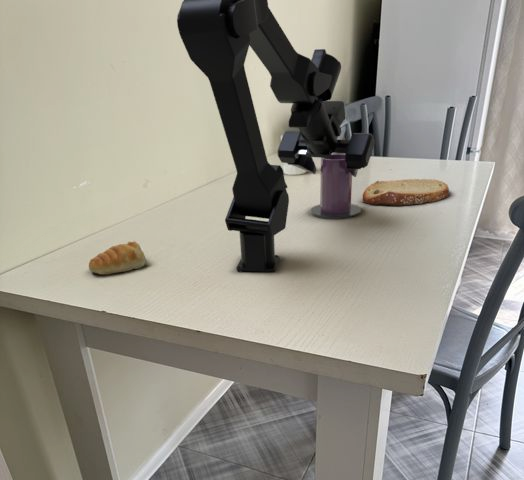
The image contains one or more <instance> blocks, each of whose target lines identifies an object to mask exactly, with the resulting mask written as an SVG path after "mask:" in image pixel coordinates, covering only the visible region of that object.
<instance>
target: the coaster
mask: <svg viewBox="0 0 524 480" xmlns="http://www.w3.org/2000/svg"><path fill="white" fill-rule="evenodd" d="M361 213H362V208H361V207H360V206H358V205H356V204H352V203H351V210H350V211H349V212H346V213H340V214H330V213H324V212H322V211H321V210H320V204H317V205H315V206H312V207H311V208H310V214H311V215H312V216H313V217H316V218H320V219H325V220H344V219H350V218H351V219H352V218H354V217H357V216H359V215H360V214H361Z"/></svg>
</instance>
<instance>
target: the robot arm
mask: <svg viewBox="0 0 524 480" xmlns="http://www.w3.org/2000/svg"><path fill="white" fill-rule="evenodd" d="M176 24H177V29H178V34H179V37H180V39H181V41H182V43H183V45H184V48H185V50H186V52H187V54H188V57H189V59H190V60H191V61H192V63H193V64H194V65H195V66H196V67H197V68H198V69H199V70H200V71H201V72H202V73H203V75H204V76H205V77H207V79H208V81H209V84H210V87H211V91H212V95H213V97H214V101H215V104H216V109H217V110H218V114H219V117H220V121H221V124H222V127H223V130H224V134H225V137H226V140H227V143H228V147H229V150H230V154H231V157H232V161H233V164H234V166H235V171H236V175H235V179H234V181H233V185H232V187H231V189H232V195H233V198H232V200H231V203H230V205H229V208H228V211H227V213H226V216H225V219H224V222H225V225H226V228H227V231H229V232H231V231H233V232H234V231H235V232H239V243H240V244H239V246H240V260H239V262H238V264H237V266H236V271H237V272H265V273H266V272H276V269H277V267H278V264H279V260H280V255H278V254H276V251H275V248H276V247H275V246H276V245H275V235H277V234H279V233H281V232H282V231H284V230H285V229H286V226H287V218H288V212H289V206H290V205H289V204H290V196H289V193H288V191H287V189H288V185H287V182H286V179H285V174H284V172H283V167H282V166H281V165H278V164H270V163H269V161H268V157H267V153H266V149H265V145H264V141H263V138H262V134H261V130H260V125H259V122H258V121H259V120H258V117H257V113H256V109H255V105H254V101H253V98H252V93H251V89H250V85H249V81H248V77H247V73H246V69H245V62H246V59H247V55H248V51H249V48H251V50H252V51H253V52H254V54H255V55H256V57H257V58H258V59H259V61H260V62H261V64H262V65H263V66H264V67H265V69H266V70H267V72H268V73H269V75H270V77H271V78H270V83H269V87H270V89H271V91H272V93H273V95H274V97H275V99H276V100H277V102H278V103H279V104H291V108H290V116H289V119H288V128H289V129H290V128H293V129H294V128H296V129H298V130H286V131H285V132H283V134H282V135H283V137H282V140H281V139H280V142H279V146H278V148H277V153H276V154H277V157H278V159H279V161H280V162H281V163H282V164H283V163H287V164H288V165H293V166H296V167H298V168H301V169H304V170H306V171H307V172H308V173H310V174H313V175H315V174H316V173H317V171H318V170H317V166H316V163H315V161H314V159H313V158H319V159H321V158H330V157H331V154H345V162H346V165H347V169H348V170H349V172H350V173H351V174H352V177H354V178H356V177H357V175H358V171H359V170H361V169H365V168H366V167H367V166H368V165H369V162H370V159H371V157H372V153H373V150H374V147H375V143H376V141H375V137H374V135H373V134H372V133H367V132H353V133H352V134H351V136H350V139H338V137H341V134H342V127H341V126H342V124H343V123H344V121H345V120H346V107H345V103H344V101H342V100H331V99H332V97H333V95H334V92H335V88H336V85H337V84H338V83H337V82H338V79H339V77H340V74H341V71H342V64H341V62H340V61H339V60H338V59H337V58H336V57H335V56H333V55H332V54H329V53H327V51H326V49H325V48H319V49H317V48H316V49H314V50H313V53H312V56H311V58H309V57H307V56H305V55H303V54H301V53H298V52H297V51H296V49H295V47H294V46H293V45H292V43H291V42H290V39H289V38H288V36H287V35H286V34H285V32H284V30H283V28H282V27H281V25H280V23H279V22H278V20H277V18H276V17H275V15H274V14H273V12H272V10H271V9H270V7H269V1H268V0H182V2H181V5H180V8H179V11H178V13H177V18H176ZM246 217H248V218H246ZM249 217H250V218H251V219H250V218H249ZM252 218H258V219H252ZM260 219H266V220H260ZM267 220H268V221H267Z"/></svg>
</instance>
